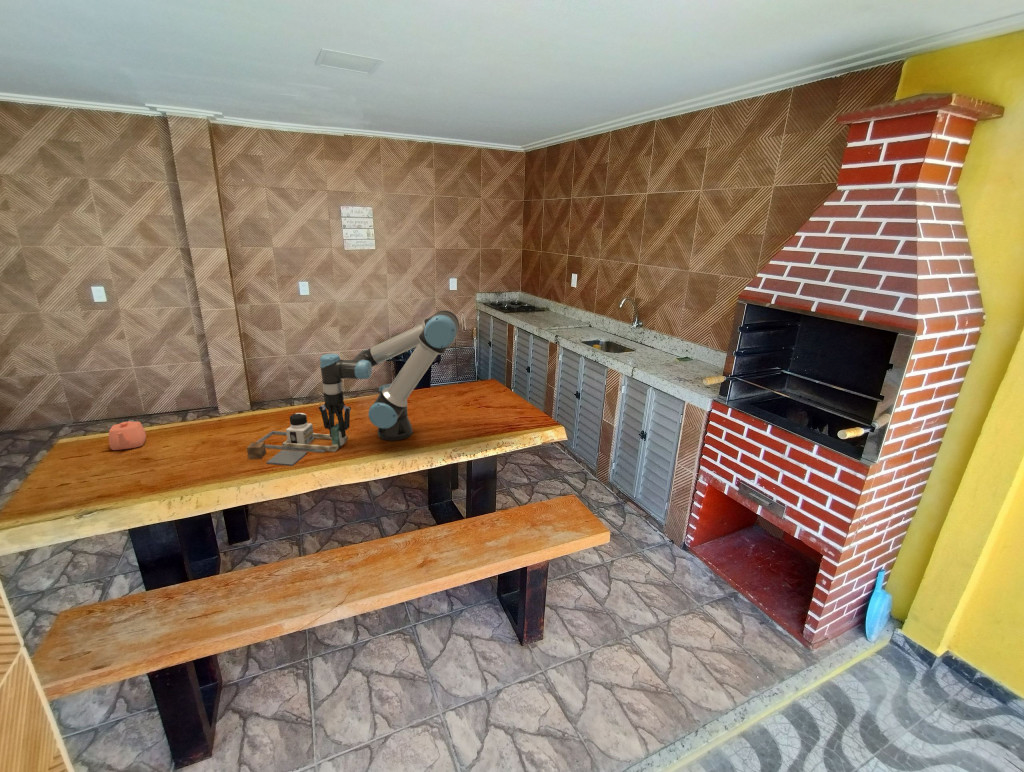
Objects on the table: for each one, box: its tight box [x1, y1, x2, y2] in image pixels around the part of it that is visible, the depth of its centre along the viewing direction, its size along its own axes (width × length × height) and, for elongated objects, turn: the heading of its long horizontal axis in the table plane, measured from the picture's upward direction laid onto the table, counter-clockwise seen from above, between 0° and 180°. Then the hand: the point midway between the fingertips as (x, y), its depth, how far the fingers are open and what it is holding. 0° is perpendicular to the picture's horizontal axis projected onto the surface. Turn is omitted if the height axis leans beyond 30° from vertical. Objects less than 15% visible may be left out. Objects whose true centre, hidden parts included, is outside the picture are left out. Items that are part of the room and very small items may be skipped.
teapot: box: [108, 420, 147, 451], centre depth 203 cm, size 12×18×10 cm, turn 25°
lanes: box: [255, 430, 326, 454], centre depth 211 cm, size 32×14×1 cm, turn 82°
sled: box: [281, 422, 349, 453], centre depth 208 cm, size 23×12×9 cm, turn 82°
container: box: [285, 412, 315, 445], centre depth 209 cm, size 8×8×13 cm
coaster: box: [266, 449, 308, 467], centre depth 197 cm, size 11×11×1 cm
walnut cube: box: [246, 441, 267, 460], centre depth 198 cm, size 5×5×5 cm
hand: (338, 443), depth 208 cm, fingers closed on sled, 2 cm apart
